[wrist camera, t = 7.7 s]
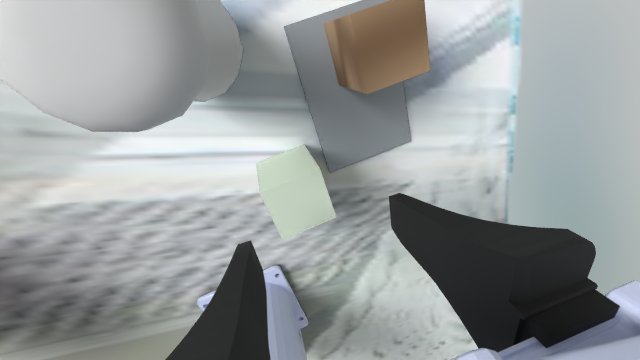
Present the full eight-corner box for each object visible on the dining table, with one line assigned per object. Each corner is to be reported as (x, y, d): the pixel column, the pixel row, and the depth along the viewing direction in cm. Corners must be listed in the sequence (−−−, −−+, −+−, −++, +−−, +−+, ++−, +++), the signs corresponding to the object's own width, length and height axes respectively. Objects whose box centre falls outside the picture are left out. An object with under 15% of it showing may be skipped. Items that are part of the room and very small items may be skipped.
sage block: (318, 185, 23) (336, 217, 18) (274, 203, 22) (282, 239, 18) (303, 144, 21) (320, 168, 17) (256, 162, 21) (259, 192, 16)
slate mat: (408, 139, 23) (410, 140, 23) (329, 171, 22) (330, 172, 22) (388, -9, 18) (390, -10, 18) (284, 26, 17) (284, 26, 17)
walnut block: (388, 66, 20) (430, 70, 15) (338, 84, 19) (367, 94, 15) (378, 4, 18) (423, -12, 13) (323, 23, 17) (350, 13, 13)
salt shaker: (212, -26, 15) (122, -259, 4) (258, 74, 18) (284, 112, 7) (115, 13, 15) (-307, -116, 3) (176, 109, 18) (55, 212, 6)
